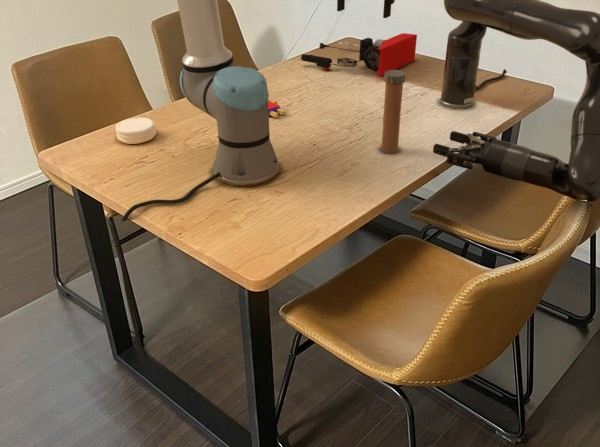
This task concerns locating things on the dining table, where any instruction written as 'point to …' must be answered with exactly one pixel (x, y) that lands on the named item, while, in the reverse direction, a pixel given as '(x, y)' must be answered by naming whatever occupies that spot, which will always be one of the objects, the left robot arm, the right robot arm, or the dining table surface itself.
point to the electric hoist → (375, 54)
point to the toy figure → (274, 109)
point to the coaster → (135, 130)
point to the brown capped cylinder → (391, 117)
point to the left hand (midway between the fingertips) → (363, 13)
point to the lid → (394, 77)
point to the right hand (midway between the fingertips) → (442, 141)
